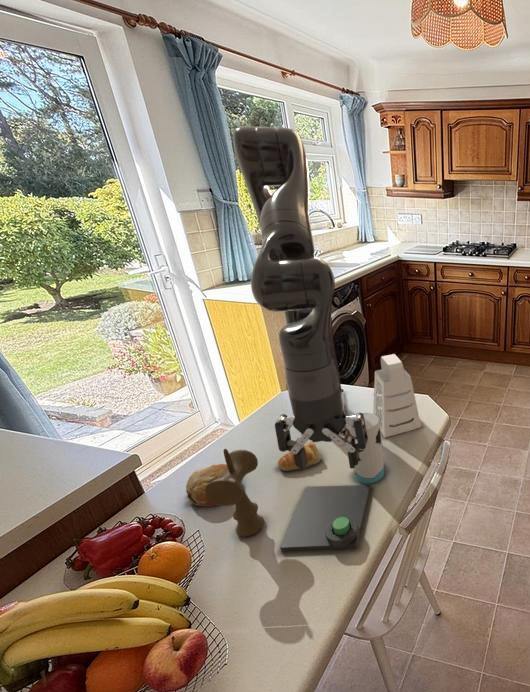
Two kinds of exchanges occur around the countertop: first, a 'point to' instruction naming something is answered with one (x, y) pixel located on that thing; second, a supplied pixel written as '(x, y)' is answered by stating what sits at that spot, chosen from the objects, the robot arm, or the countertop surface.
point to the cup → (370, 452)
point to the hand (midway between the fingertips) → (328, 466)
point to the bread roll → (203, 484)
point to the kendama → (237, 491)
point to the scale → (327, 518)
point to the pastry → (289, 462)
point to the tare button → (341, 526)
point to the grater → (394, 397)
